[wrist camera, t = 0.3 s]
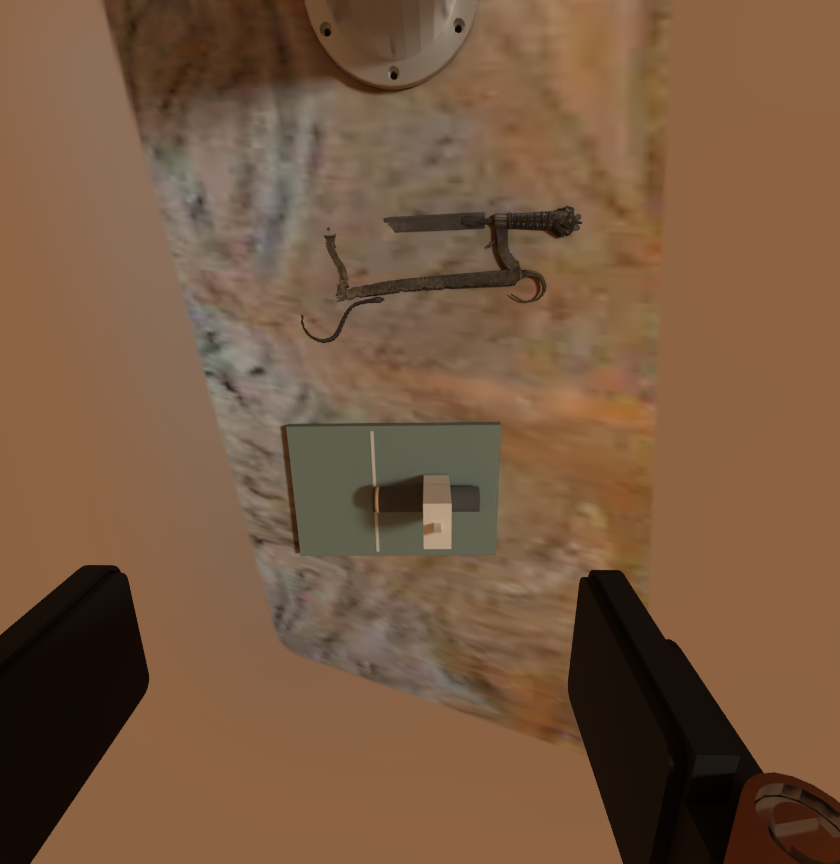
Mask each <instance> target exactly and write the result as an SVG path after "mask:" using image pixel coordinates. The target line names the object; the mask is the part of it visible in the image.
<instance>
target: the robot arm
mask: <svg viewBox="0 0 840 864" xmlns="http://www.w3.org/2000/svg"><path fill="white" fill-rule="evenodd" d="M478 1H479V0H304V3H305V7H306V10H307V13H308V16H309V19H310V23H311V25H312V27H313V29H314V31H315V34H316V36H317V38H318V39H319V41H320V43H321V44H322V46H323V48H324V49H325V51H326V52H327V54H328V55H329V56H330V57H331V59H332V60H333V61H334V62H335V63H336V64H337V65H338V67H340V68H341V69H342V70H343V71H345V72H346V73H347V74H348V75H350V76H351V77H352V78H354V79H356V80H358V81H360V82H362V83H364V84H366V85H369V86H373V87H377V88H380V89H396V90H399V89H404V88H409V87H414V86H417V85H419V84H421V83H423V82H426V81H428V80H430V79H431V78H433V77H434V76H435V75H437V74H438V73H440V72H441V71H442V70H444V68H445V67H446V66H447V65H448V64H449V63H450V62H451V61H452V60H453V59H454V58H455V57H456V55H457V54H458V52H459V50H460V49H461V47H462V46H463V44H464V43H465V41H466V39H467V36H468V34H469V32H470V30H471V27H472V25H473V22H474V18H475V14H476V10H477V6H478ZM457 27H459V28H460V29H461V32H460V33H456V32H455V29H456V28H457ZM327 31H330V32H331V34H330V36H327V37H326V36H325V33H326V32H327ZM392 74H397V79H395V80H392V79H391V75H392ZM148 684H149V673H148V668H147V664H146V659H145V655H144V650H143V645H142V641H141V636H140V632H139V627H138V622H137V618H136V613H135V609H134V604H133V600H132V595H131V591H130V586H129V581H128V578H127V576H126V574H124V573H121V572H120V570H119V568H118V567H117V566H113V565H86V566H83V567H81V568H80V569H78V570H77V571H76V572H75V573H74V574H72V575H71V576H70V577H69V578H67V579H66V580H65V581H64V582H63V583H62V584H60V585H59V586H58V587H57V588H56V589H54V590H53V591H52V592H51V593H50V594H49V595H47V596H46V597H45V598H44V599H43V600H41V601H40V602H39V603H38V604H37V605H35V606H34V607H33V608H32V609H31V610H29V611H28V612H27V613H26V614H25V615H24V616H22V617H21V618H20V619H19V620H18V621H17V622H15V623H14V624H13V625H12V626H10V627H9V628H8V629H7V630H6V631H5V632H3V633H2V634H1V635H0V864H30V863H31V862H32V860H33V859H34V857H35V856H36V854H37V853H38V851H39V850H40V849H41V847H42V846H43V844H44V843H45V841H46V840H47V838H48V837H49V835H50V834H51V832H52V831H53V829H54V828H55V826H56V825H57V823H58V822H59V821H60V819H61V818H62V816H63V815H64V813H65V812H66V810H67V809H68V807H69V806H70V804H71V803H72V801H73V800H74V798H75V797H76V795H77V794H78V792H79V791H80V790H81V788H82V787H83V785H84V784H85V782H86V780H87V779H88V777H89V776H90V775H91V773H92V772H93V770H94V769H95V767H96V766H97V764H98V763H99V761H100V760H101V759H102V757H103V755H104V754H105V753H106V751H107V749H108V748H109V746H110V745H111V744H112V742H113V741H114V739H115V738H116V736H117V735H118V733H119V732H120V730H121V729H122V727H123V726H124V725H125V723H126V721H127V720H128V719H129V717H130V716H131V714H132V713H133V711H134V710H135V708H136V707H137V705H138V704H139V702H140V700H141V699H142V698H143V696H144V694H145V693H146V690H147V688H148ZM568 693H569V698H570V702H571V705H572V709H573V712H574V715H575V718H576V721H577V724H578V727H579V730H580V733H581V736H582V739H583V742H584V745H585V748H586V751H587V754H588V757H589V761H590V764H591V767H592V769H593V772H594V776H595V779H596V782H597V785H598V788H599V791H600V794H601V797H602V800H603V803H604V806H605V809H606V813H607V816H608V819H609V822H610V824H611V828H612V831H613V834H614V837H615V840H616V843H617V846H618V849H619V852H620V855H621V858H622V862H623V864H840V803H839V802H838V801H837V800H836V799H835V798H833V797H832V796H830V795H828V794H827V793H825V792H824V791H822V790H820V789H819V788H817V787H816V786H814V785H812V784H810V783H807V782H805V781H803V780H800V779H798V778H796V777H793V776H789V775H784V774H780V773H775V772H773V773H763V771H762V770H761V769H760V767H759V765H758V764H757V762H756V761H755V759H754V758H753V757H752V755H751V753H750V752H749V750H748V749H747V747H746V746H745V744H744V743H743V742H742V740H741V738H740V737H739V735H738V734H737V732H736V731H735V729H734V728H733V726H732V725H731V724H730V722H729V720H728V719H727V718H726V716H725V714H724V713H723V712H722V710H721V709H720V707H719V705H718V704H717V702H716V701H715V699H714V698H713V697H712V695H711V693H710V692H709V691H708V689H707V688H706V686H705V684H704V683H703V681H702V680H701V678H700V677H699V675H698V674H697V672H696V671H695V670H694V668H693V667H692V665H691V663H690V662H689V661H688V659H687V657H686V656H685V654H684V653H683V652H682V650H681V648H679V646H678V645H677V644H676V643H675V642H674V641H672V640H669V639H665V638H664V636H663V635H662V633H661V632H660V630H659V628H658V627H657V625H656V624H655V622H654V621H653V619H652V618H651V616H650V614H649V613H648V611H647V610H646V608H645V607H644V605H643V604H642V602H641V600H640V599H639V597H638V596H637V594H636V593H635V591H634V590H633V588H632V586H631V585H630V583H629V582H628V580H627V579H626V577H625V576H624V574H623V573H622V572H621V571H619V570H591V571H590V573H589V575H588V577H582V578H581V579H580V583H579V590H578V599H577V608H576V616H575V625H574V633H573V642H572V651H571V659H570V668H569V677H568Z"/></svg>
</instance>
